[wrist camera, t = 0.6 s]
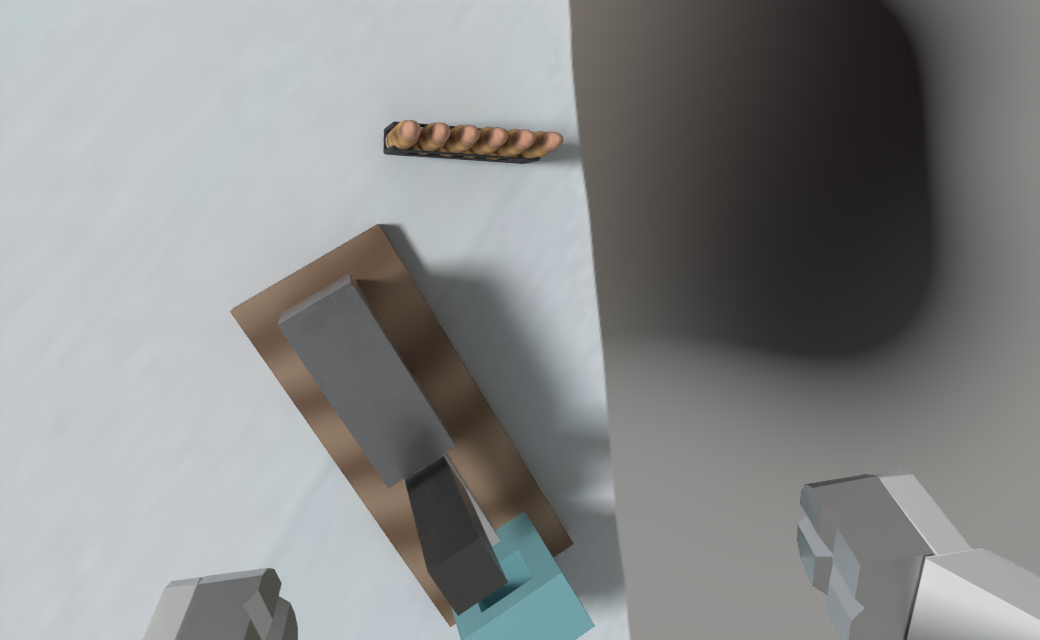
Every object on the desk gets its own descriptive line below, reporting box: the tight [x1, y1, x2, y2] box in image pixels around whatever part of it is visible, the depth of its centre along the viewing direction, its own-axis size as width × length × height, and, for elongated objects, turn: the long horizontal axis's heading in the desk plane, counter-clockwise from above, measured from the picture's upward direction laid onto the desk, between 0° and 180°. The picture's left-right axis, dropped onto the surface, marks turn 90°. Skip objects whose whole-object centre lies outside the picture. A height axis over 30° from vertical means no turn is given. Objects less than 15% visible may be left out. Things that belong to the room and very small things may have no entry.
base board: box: [230, 224, 573, 627], centre depth 54 cm, size 30×12×6 cm, turn 30°
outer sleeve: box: [277, 273, 455, 489], centre depth 47 cm, size 12×5×5 cm, turn 30°
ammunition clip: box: [384, 120, 563, 164], centre depth 48 cm, size 11×2×12 cm, turn 87°
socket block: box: [452, 511, 595, 640], centre depth 54 cm, size 5×8×10 cm, turn 120°
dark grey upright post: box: [403, 452, 508, 616], centre depth 43 cm, size 19×3×15 cm, turn 30°
